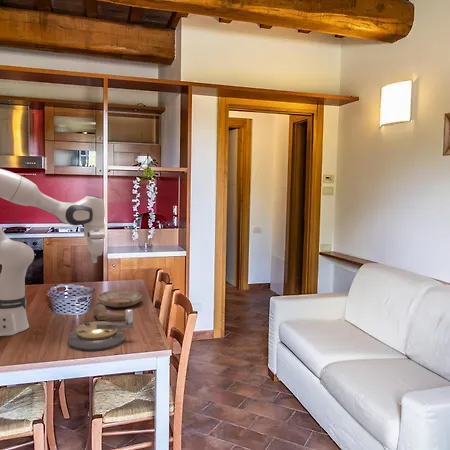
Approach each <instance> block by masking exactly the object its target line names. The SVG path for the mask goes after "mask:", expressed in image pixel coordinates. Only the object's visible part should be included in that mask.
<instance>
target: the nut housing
mask: <svg viewBox="0 0 450 450" xmlns="http://www.w3.org/2000/svg"><path fill="white" fill-rule="evenodd" d="M124 342H125V331H124V328H117V334H116V335H115V336H114V337H111V338H109V339H105V340H98V341H88V340H82V339H79V338H78V337H77V336H76V329H74V330H72V331H71V332H70V333H69V334H68V346H70V348H71V349H73V350H77V351H83V352H100V351H106V350H110V349H113V348H116V347H118V346H120V345H122V344H123V343H124Z"/></svg>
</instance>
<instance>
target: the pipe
mask: <svg viewBox="0 0 450 450" xmlns="http://www.w3.org/2000/svg"><path fill="white" fill-rule="evenodd" d="M92 312H93V314H94V316H95V318H96V319H97V320H98V321H106V322H112V321H114V322H124V321H125V313H118V312H108V311H107V307H106V305H104V304H102V303H98V304H96V305H95V306H94V308H93V311H92Z"/></svg>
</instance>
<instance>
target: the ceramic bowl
mask: <svg viewBox="0 0 450 450" xmlns="http://www.w3.org/2000/svg"><path fill="white" fill-rule="evenodd" d="M142 298H143V295H142V294H141V292H138V291H134V290H125V289H124V290H123V289H122V290H120V289H117V290H107V291H103V292H100V293H98V295H97V300H98V302H99V304H103V305H105V307H106V306H107V307H110V308H127V307H131V306H135V305H137V304H138V303H140V302H141V301H142Z"/></svg>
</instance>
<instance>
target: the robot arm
mask: <svg viewBox="0 0 450 450" xmlns="http://www.w3.org/2000/svg"><path fill="white" fill-rule="evenodd" d="M0 198H1V199H3V200H6V201H8V202H11V203H13V204H15V205H21V206H25V207H35V208H37V209H40V210H43V211H45V212H47V213H49V214H51V215H53V216H54V217H55V218H56V219H57V220H58V221H59V222H60V223H62V224H65V225H70V226H74V227H77V226H78V227H79V226H81V225H83V236H84V237H86V248H87V250H88V251H89V253H90V256H91V262H92V263H93V264H96V263H98V257H99V256H102V255H103V252H104V251H103V250H104V239H105V238H106V232H105V226H106V225H105V222H104V221H105V213H106V211H105V201H104V199H103V198H102V197H100V196H94V195H86V196H85V197H84V198H81V199H80V200H78V201H74V202H71V201H62V200H61V201H60V200H58V199H55V198H53V197H51V196H48V195H46V194H44V193H43V192H42V191H40V189H39V187H38V185H37V184H35V183H34V182H33V181H31V180H30V179H28V178H26V177H24V176H22V175H20V174H18V173H14V172H12V171H9V170H7V169H3V168H0ZM34 259H35V252H34V249H33V248H32V247H31V246H30V245H28V244H27V243H24V242H21V241H17V240H12V239H11V238H9V237H8V236H7V234H6V233H5V232H4V230H3V227H2V225H0V265H1V271H0V337H1V336H2V337H5V336H14V335H16V334H18V333H20V332H21V333H22V332H23V331H26V330H27V329H28V328H30V325H29V321H28V316H27V311H26V310H27V297H26V296H27V295H26V294H25V293H26V291H25V290H26V288H25V286H26V283H25V281H26V279H25V278H26V274H27V271H28V268H29V266H30V265H31V264H32V263H33V261H34Z"/></svg>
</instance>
